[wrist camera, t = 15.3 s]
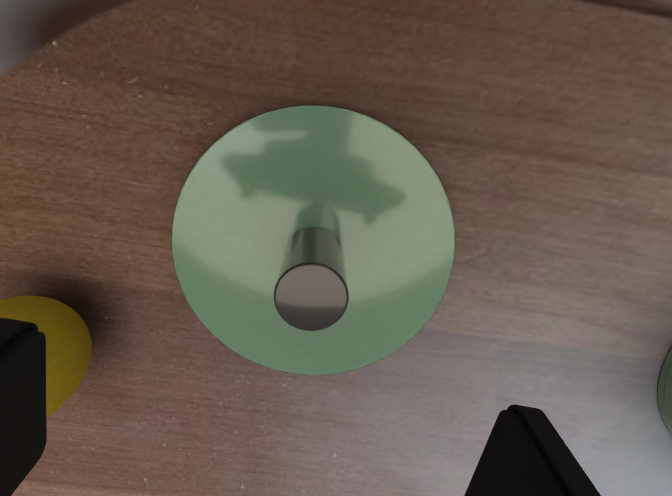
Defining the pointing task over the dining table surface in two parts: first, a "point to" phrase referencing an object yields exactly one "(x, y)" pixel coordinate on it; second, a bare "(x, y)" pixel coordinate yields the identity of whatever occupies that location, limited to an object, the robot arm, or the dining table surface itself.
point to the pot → (666, 392)
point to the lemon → (55, 343)
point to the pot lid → (313, 240)
